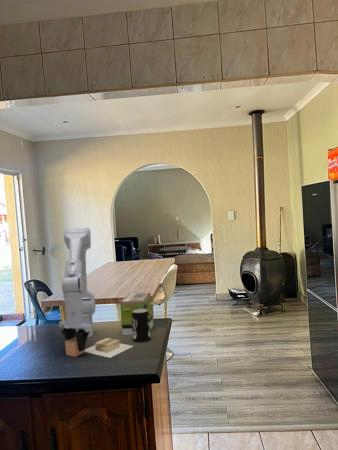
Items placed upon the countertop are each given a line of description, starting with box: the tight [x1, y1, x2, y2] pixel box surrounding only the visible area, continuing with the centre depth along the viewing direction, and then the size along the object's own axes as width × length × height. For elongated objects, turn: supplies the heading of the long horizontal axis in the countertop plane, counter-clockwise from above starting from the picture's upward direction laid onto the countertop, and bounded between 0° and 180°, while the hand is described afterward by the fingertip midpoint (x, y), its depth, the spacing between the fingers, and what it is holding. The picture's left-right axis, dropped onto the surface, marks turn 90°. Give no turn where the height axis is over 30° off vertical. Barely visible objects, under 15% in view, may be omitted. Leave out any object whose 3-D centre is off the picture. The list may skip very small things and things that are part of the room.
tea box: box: [119, 292, 154, 336], centre depth 151 cm, size 15×10×15 cm, turn 172°
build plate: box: [85, 342, 134, 359], centre depth 130 cm, size 14×12×1 cm
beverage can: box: [132, 308, 152, 343], centre depth 138 cm, size 7×7×12 cm
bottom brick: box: [94, 337, 120, 353], centre depth 130 cm, size 6×6×2 cm
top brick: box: [64, 337, 86, 358], centre depth 127 cm, size 4×4×5 cm
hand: (76, 349), depth 128 cm, fingers closed on top brick, 4 cm apart
